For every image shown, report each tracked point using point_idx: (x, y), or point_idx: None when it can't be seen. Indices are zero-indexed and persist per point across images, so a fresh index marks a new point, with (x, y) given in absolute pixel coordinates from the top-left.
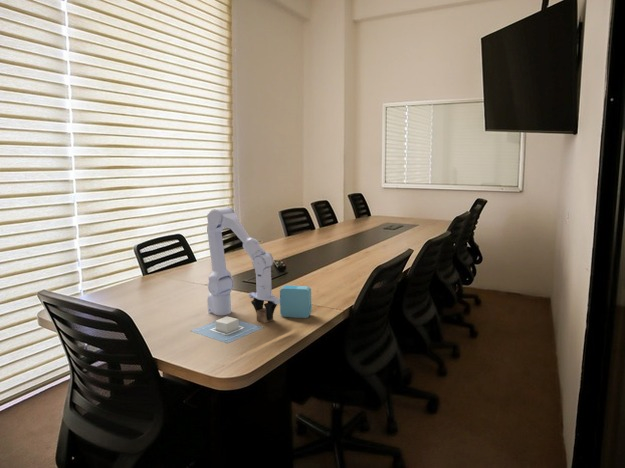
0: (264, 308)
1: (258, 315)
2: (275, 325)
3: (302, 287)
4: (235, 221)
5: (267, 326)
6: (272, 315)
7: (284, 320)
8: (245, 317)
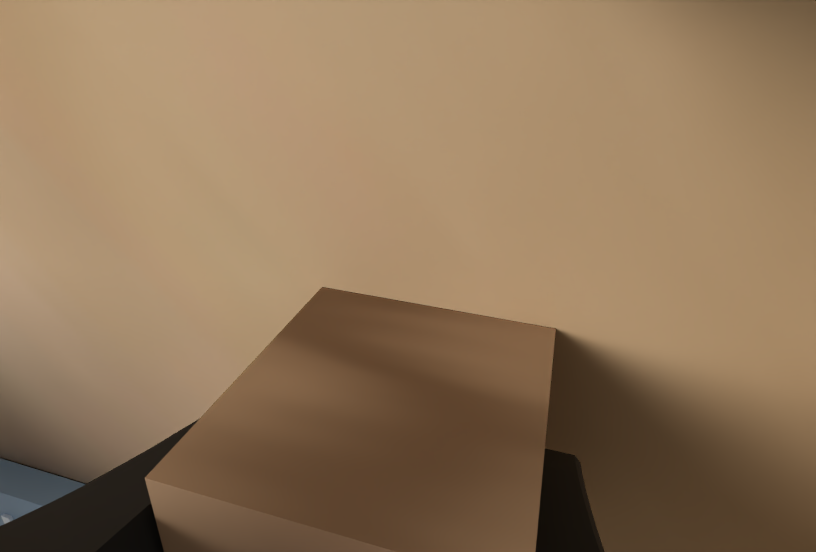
0: (198, 526)
1: None
2: (709, 462)
3: None
4: None
5: None
6: (591, 542)
7: (784, 113)
8: (18, 311)
